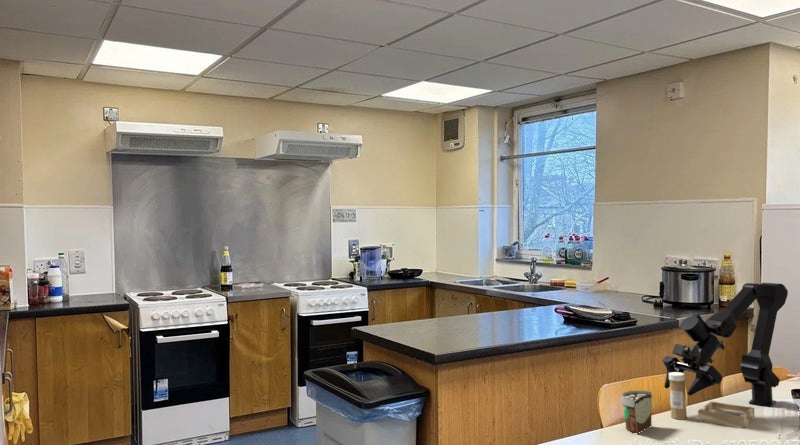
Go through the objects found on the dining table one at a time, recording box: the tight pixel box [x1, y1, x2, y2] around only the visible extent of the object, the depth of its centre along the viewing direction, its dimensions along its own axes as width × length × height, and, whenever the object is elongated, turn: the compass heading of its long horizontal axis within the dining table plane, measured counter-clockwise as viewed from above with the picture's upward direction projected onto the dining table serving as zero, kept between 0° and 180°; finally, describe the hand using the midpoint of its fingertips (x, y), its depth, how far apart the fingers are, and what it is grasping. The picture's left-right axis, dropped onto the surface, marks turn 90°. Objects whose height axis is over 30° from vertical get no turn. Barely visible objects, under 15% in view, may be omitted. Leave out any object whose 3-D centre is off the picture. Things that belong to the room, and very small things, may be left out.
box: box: [697, 401, 755, 429], centre depth 181 cm, size 12×12×3 cm
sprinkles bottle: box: [669, 372, 688, 420], centre depth 185 cm, size 5×5×14 cm
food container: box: [620, 390, 653, 435], centre depth 176 cm, size 12×6×10 cm, turn 135°
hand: (676, 391), depth 185 cm, fingers open, 9 cm apart
